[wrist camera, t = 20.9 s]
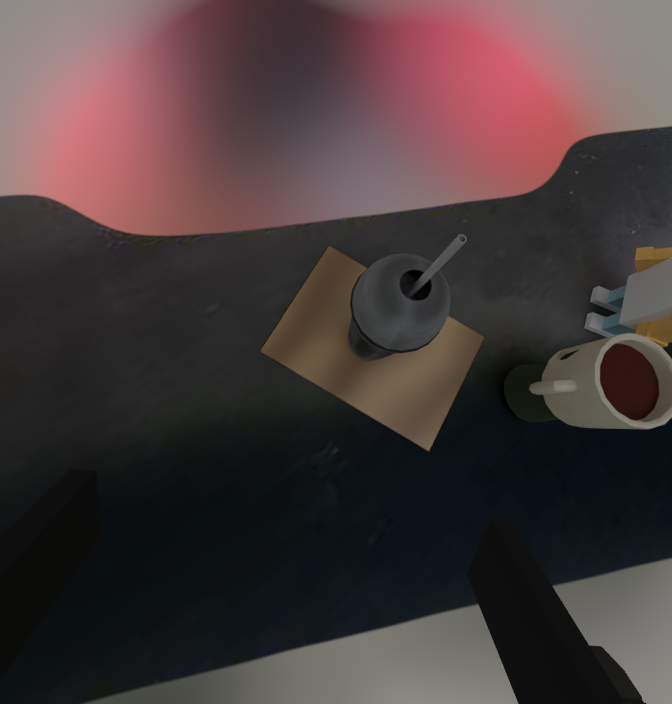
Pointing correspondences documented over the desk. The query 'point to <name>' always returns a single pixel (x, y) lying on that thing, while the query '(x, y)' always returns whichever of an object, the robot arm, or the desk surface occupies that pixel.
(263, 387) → the desk surface
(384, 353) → the beverage cup
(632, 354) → the character mug
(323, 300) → the cork mat
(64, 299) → the desk surface
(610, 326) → the character figure
